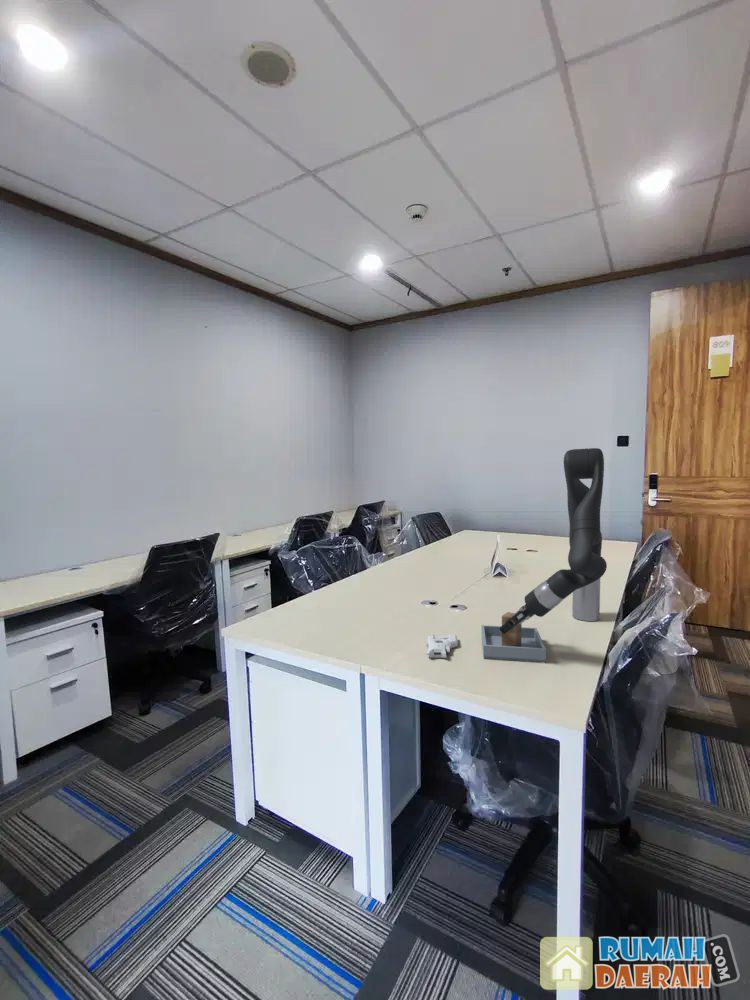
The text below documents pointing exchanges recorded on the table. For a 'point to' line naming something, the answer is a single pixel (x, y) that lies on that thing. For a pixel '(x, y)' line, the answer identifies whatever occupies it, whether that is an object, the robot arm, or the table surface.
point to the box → (528, 651)
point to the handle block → (511, 632)
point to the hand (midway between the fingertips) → (507, 627)
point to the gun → (440, 645)
